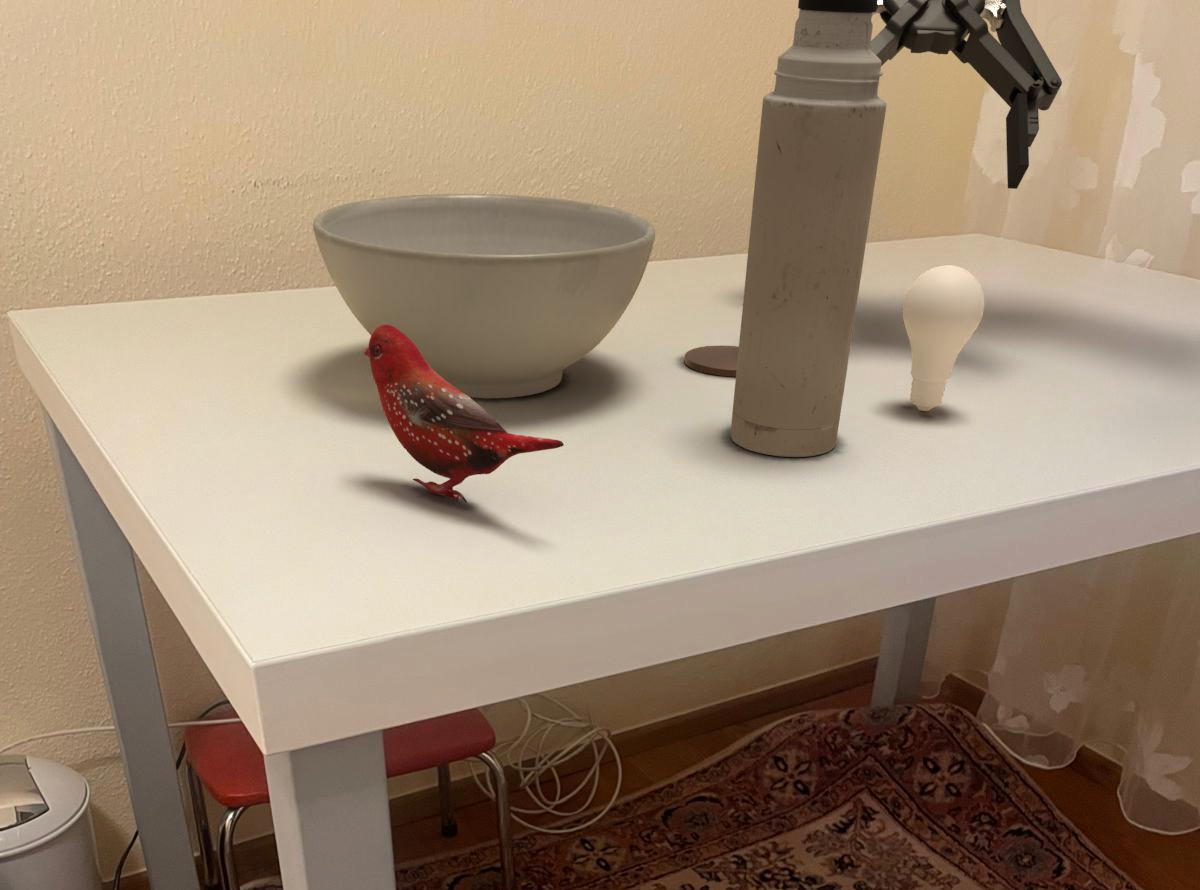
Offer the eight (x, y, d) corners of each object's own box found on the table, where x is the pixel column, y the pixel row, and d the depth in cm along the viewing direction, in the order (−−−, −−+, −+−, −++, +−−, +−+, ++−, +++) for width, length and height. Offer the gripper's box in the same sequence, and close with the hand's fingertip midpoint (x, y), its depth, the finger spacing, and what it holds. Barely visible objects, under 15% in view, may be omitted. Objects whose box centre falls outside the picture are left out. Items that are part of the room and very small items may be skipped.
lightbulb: (900, 395, 101) (925, 254, 94) (971, 408, 98) (1001, 265, 92) (875, 412, 96) (899, 266, 90) (948, 427, 94) (979, 278, 88)
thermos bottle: (708, 434, 90) (747, -11, 74) (780, 416, 95) (832, -9, 79) (785, 465, 86) (844, -6, 69) (857, 444, 90) (929, -3, 74)
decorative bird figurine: (389, 465, 83) (379, 314, 77) (578, 537, 74) (582, 371, 68) (357, 475, 81) (343, 321, 75) (546, 550, 72) (547, 381, 66)
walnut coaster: (788, 362, 108) (789, 355, 108) (748, 382, 102) (749, 375, 102) (710, 347, 111) (711, 340, 111) (668, 365, 106) (668, 358, 105)
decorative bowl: (705, 373, 104) (717, 221, 97) (518, 452, 86) (517, 272, 79) (467, 321, 116) (463, 183, 109) (258, 381, 98) (237, 220, 91)
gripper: (1061, -10, 104) (1069, 210, 100) (775, -22, 104) (772, 198, 100) (1098, -87, 96) (1108, 147, 93) (790, -101, 96) (788, 134, 93)
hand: (934, 174), depth 96 cm, fingers open, 13 cm apart
